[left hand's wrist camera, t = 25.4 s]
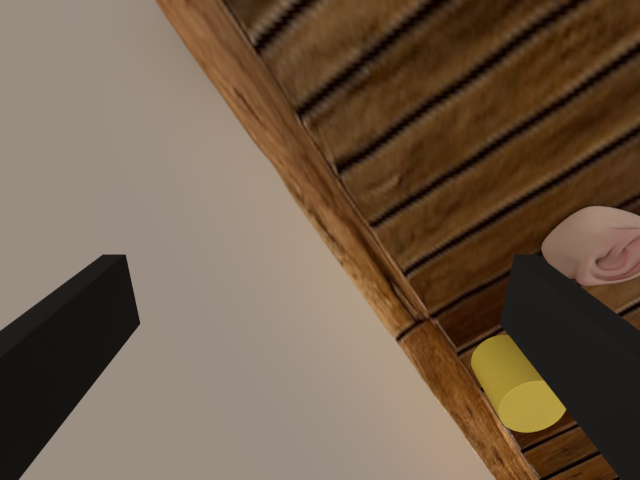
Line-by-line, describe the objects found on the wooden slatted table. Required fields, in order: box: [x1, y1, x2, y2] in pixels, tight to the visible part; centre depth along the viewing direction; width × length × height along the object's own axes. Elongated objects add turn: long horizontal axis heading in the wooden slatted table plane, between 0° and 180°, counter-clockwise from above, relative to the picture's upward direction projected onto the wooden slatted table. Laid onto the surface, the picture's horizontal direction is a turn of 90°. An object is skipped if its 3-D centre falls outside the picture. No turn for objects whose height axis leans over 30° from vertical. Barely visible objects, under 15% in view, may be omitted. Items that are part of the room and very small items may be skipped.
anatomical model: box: [541, 206, 640, 286], centre depth 49 cm, size 13×4×12 cm
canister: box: [471, 335, 566, 432], centre depth 53 cm, size 9×9×10 cm
